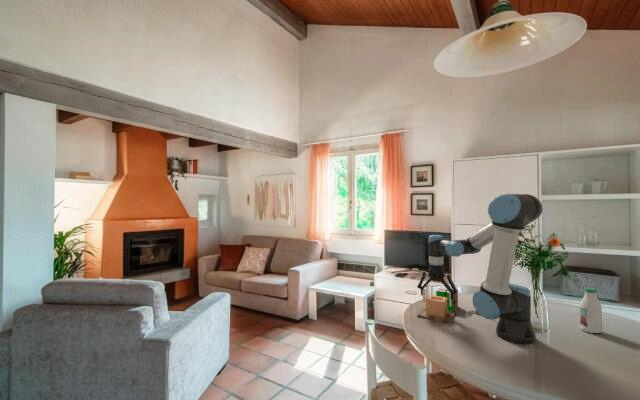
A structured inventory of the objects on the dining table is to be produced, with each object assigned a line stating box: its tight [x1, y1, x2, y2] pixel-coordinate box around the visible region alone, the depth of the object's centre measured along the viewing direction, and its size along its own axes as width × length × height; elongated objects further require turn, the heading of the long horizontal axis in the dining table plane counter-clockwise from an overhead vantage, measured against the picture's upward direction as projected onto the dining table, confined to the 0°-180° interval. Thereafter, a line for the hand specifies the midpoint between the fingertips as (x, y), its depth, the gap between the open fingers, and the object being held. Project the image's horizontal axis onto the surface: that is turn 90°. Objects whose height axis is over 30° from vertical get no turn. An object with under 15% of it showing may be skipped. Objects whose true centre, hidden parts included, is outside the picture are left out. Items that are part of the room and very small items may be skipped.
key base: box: [416, 306, 457, 324], centre depth 165 cm, size 16×16×7 cm
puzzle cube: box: [435, 286, 459, 312], centre depth 177 cm, size 10×10×10 cm
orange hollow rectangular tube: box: [425, 294, 447, 318], centre depth 165 cm, size 9×9×8 cm
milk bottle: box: [579, 286, 603, 334], centre depth 143 cm, size 8×8×20 cm
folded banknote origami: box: [467, 309, 482, 317], centre depth 166 cm, size 15×10×13 cm
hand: (437, 303), depth 165 cm, fingers open, 13 cm apart
